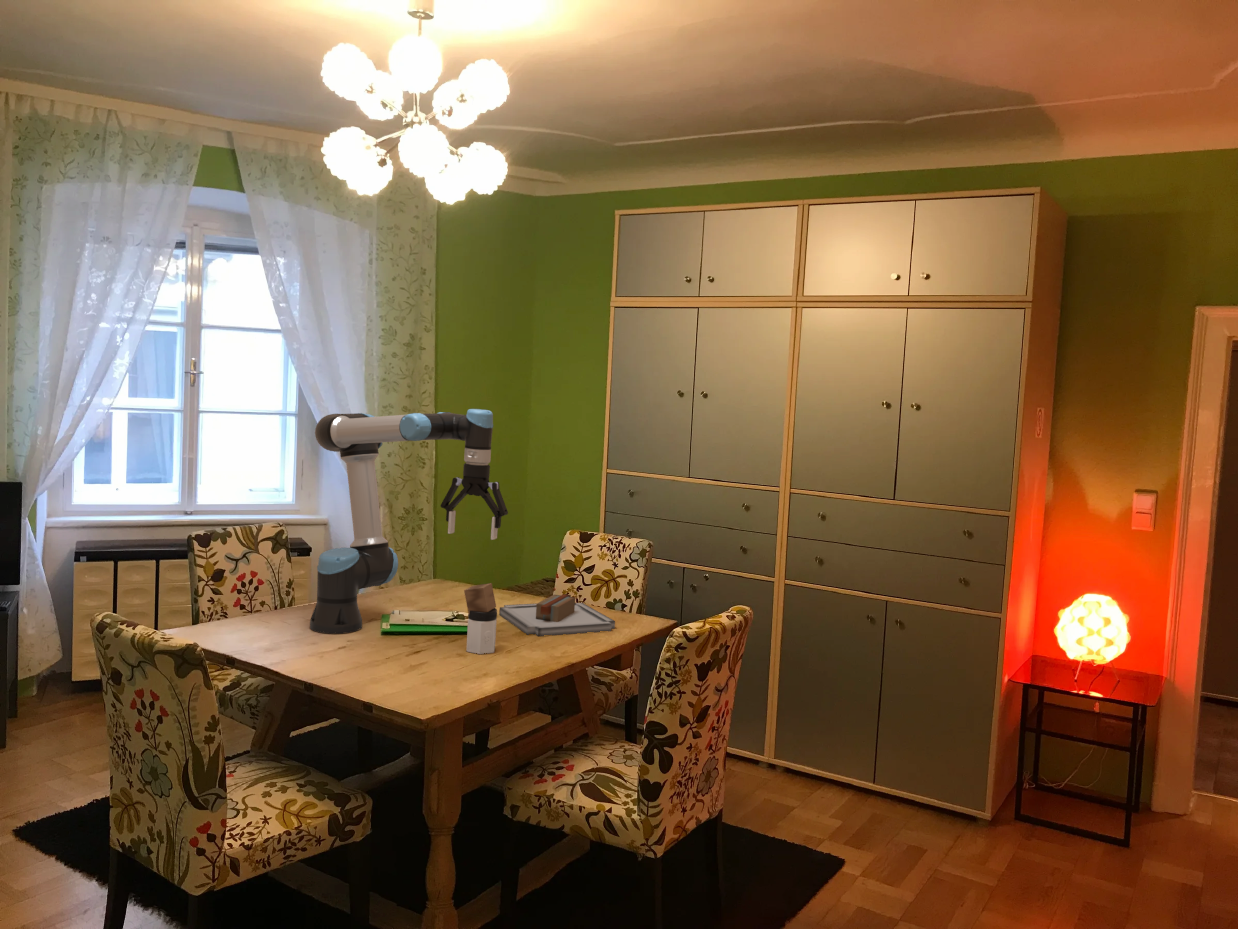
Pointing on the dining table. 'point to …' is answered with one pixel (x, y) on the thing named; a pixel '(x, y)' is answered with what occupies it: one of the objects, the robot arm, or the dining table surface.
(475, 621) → the jar
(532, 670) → the dining table surface
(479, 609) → the walnut block
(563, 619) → the grey tray
